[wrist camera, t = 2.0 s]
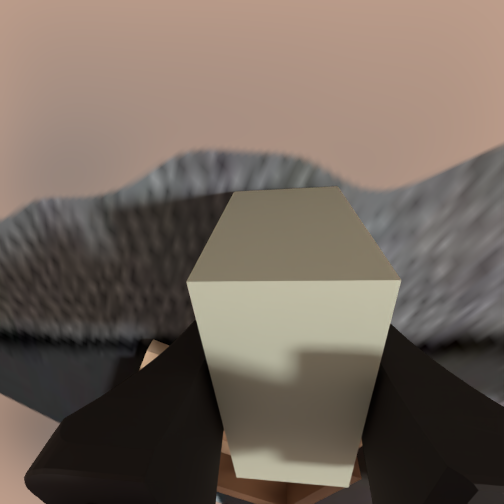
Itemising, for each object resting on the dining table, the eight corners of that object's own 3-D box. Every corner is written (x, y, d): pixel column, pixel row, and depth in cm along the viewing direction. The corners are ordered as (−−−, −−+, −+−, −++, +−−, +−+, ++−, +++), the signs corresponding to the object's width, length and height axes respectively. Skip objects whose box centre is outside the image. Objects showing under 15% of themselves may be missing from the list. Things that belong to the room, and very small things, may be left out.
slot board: (372, 423, 17) (387, 475, 15) (285, 480, 23) (286, 524, 21) (153, 339, 15) (128, 383, 13) (118, 425, 21) (97, 467, 19)
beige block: (337, 186, 10) (401, 279, 5) (323, 347, 14) (348, 487, 9) (233, 191, 10) (186, 281, 5) (252, 345, 15) (236, 477, 10)
